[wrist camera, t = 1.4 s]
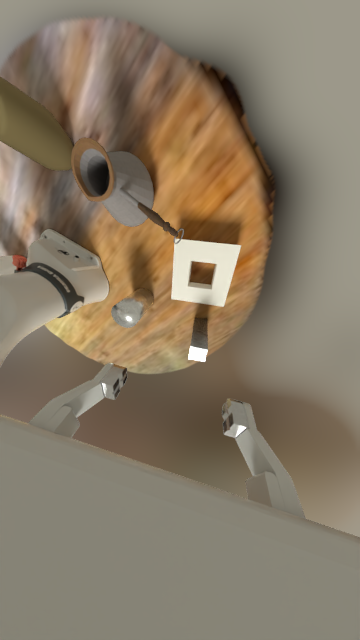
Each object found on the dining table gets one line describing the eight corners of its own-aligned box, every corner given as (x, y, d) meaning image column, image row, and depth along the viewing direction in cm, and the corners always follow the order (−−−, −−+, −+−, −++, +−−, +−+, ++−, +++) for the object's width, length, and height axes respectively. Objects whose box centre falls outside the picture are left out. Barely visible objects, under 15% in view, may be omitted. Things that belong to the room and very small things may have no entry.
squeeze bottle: (80, 185, 31) (-46, 129, 15) (45, 165, 30) (-122, 86, 15) (82, 134, 26) (-88, -13, 11) (42, 109, 26) (-200, -85, 10)
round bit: (130, 298, 43) (107, 316, 33) (140, 283, 40) (118, 298, 30) (146, 311, 45) (129, 332, 35) (157, 298, 42) (142, 316, 32)
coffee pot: (104, 208, 32) (37, 187, 19) (117, 144, 26) (34, 53, 14) (178, 261, 35) (162, 272, 22) (205, 213, 29) (203, 192, 17)
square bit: (193, 327, 45) (188, 358, 33) (194, 317, 43) (190, 346, 31) (205, 329, 45) (204, 361, 33) (207, 319, 43) (207, 349, 31)
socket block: (174, 293, 40) (171, 298, 36) (178, 238, 33) (174, 238, 29) (222, 300, 39) (223, 306, 35) (236, 244, 31) (241, 245, 27)
